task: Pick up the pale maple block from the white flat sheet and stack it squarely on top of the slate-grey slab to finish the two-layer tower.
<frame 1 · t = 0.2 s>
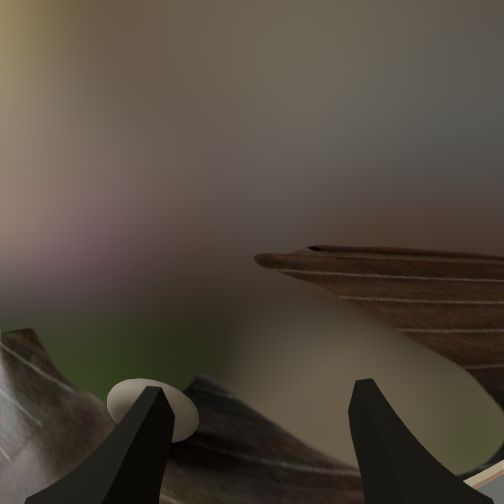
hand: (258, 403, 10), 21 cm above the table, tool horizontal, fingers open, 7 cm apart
donut: (167, 437, 30), on the table
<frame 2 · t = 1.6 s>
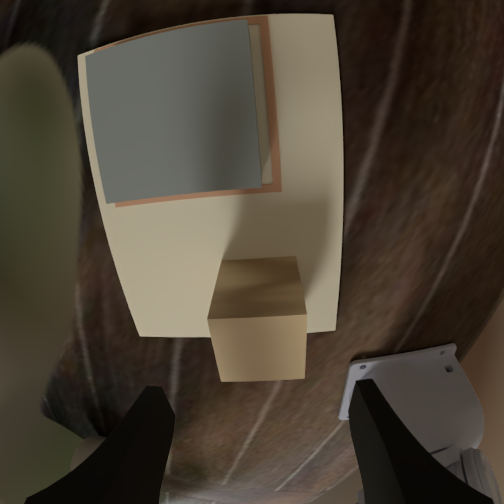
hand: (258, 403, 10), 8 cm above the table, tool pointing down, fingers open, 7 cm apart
donut: (111, 440, 30), on the table
white flat sheet: (214, 194, 16), on the table
maple block: (261, 289, 17), point 1 cm above the table, touching white flat sheet
slate slab: (181, 111, 13), point 1 cm above the table, touching white flat sheet
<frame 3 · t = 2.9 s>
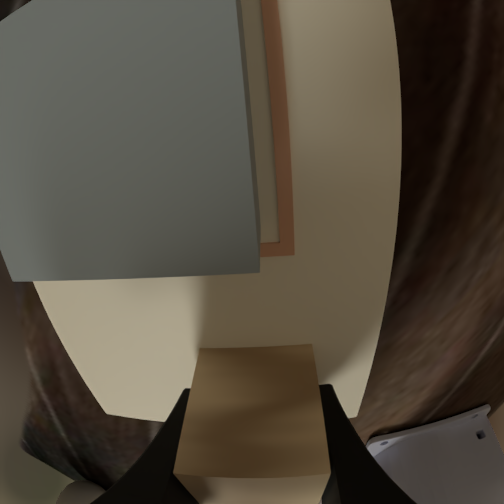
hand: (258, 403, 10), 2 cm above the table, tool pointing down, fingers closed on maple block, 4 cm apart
donut: (97, 482, 24), on the table
white flat sheet: (183, 254, 10), on the table
maple block: (259, 382, 11), point 1 cm above the table, touching white flat sheet, gripper
slate slab: (120, 117, 7), point 1 cm above the table, touching white flat sheet
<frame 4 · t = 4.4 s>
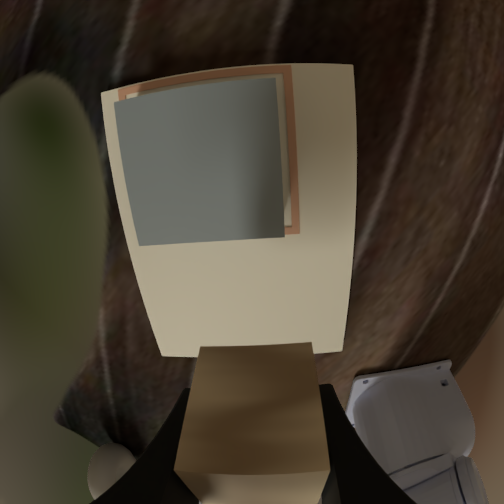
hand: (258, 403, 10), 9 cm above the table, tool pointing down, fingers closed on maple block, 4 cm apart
donut: (125, 446, 31), on the table
white flat sheet: (237, 233, 17), on the table
maple block: (259, 380, 11), point 8 cm above the table, touching gripper
slate slab: (208, 157, 15), point 1 cm above the table, touching white flat sheet
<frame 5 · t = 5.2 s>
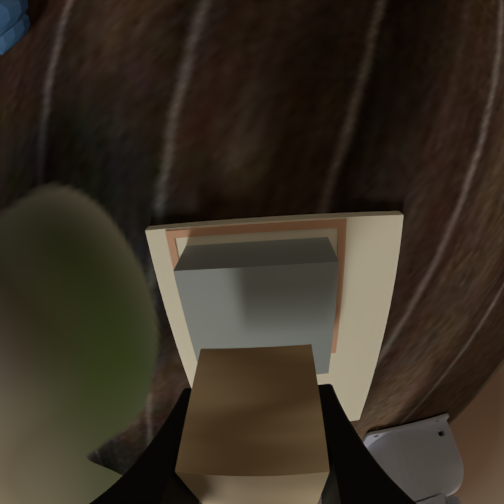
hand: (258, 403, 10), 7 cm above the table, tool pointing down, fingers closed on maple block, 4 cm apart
white flat sheet: (281, 350, 19), on the table
maple block: (259, 381, 12), point 6 cm above the table, touching gripper
slate slab: (261, 300, 16), point 1 cm above the table, touching white flat sheet
when the fingers open (5 cm above the table, at t = 5.9 s): maple block stays where it is, resting on slate slab.
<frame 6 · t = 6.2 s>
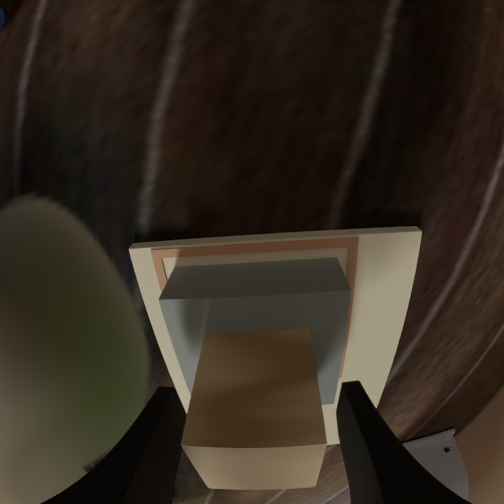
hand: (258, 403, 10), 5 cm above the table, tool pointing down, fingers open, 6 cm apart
white flat sheet: (282, 375, 17), on the table
maple block: (260, 365, 12), point 3 cm above the table, touching slate slab
slate slab: (260, 326, 14), point 1 cm above the table, touching white flat sheet, maple block
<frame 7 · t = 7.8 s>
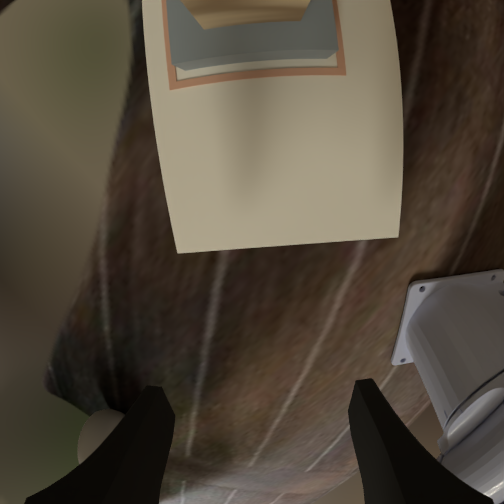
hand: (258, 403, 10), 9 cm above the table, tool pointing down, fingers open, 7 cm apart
donut: (125, 416, 28), on the table
white flat sheet: (277, 79, 14), on the table
slate slab: (249, 1, 11), point 1 cm above the table, touching white flat sheet, maple block
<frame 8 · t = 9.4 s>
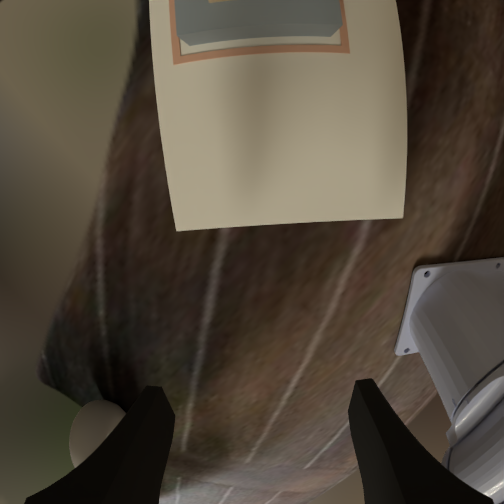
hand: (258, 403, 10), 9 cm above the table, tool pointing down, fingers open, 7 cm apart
donut: (119, 407, 27), on the table
white flat sheet: (281, 56, 13), on the table
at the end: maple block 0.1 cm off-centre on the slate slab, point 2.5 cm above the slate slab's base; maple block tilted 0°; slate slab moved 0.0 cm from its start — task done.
